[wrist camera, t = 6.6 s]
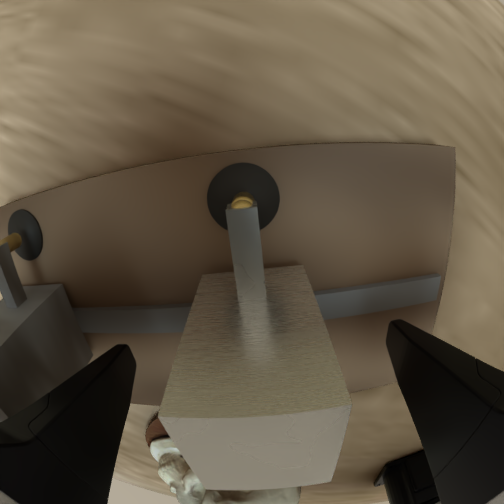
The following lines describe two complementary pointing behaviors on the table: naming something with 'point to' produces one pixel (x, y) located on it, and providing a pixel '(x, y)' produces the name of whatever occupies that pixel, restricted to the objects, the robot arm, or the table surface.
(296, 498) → the skull
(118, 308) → the cube rail panel
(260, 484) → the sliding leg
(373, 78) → the table surface
